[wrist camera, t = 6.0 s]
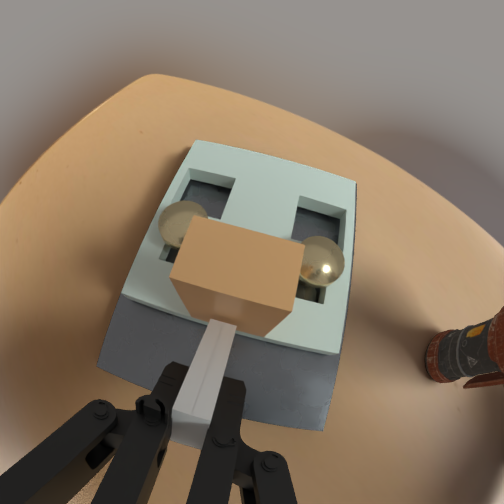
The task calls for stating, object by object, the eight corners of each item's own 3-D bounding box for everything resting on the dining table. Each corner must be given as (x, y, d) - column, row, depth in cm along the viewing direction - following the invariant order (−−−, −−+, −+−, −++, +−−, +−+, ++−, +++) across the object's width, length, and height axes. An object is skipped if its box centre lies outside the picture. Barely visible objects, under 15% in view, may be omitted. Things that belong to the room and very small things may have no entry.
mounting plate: (351, 191, 28) (371, 160, 24) (316, 427, 18) (342, 441, 13) (196, 150, 29) (193, 113, 24) (103, 367, 18) (72, 363, 14)
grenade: (434, 409, 19) (558, 398, 5) (412, 347, 21) (542, 300, 8) (465, 377, 20) (574, 349, 7) (445, 320, 23) (554, 266, 9)
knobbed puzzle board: (349, 191, 26) (391, 120, 17) (330, 355, 19) (406, 336, 10) (197, 150, 26) (192, 69, 17) (127, 298, 19) (67, 242, 10)
